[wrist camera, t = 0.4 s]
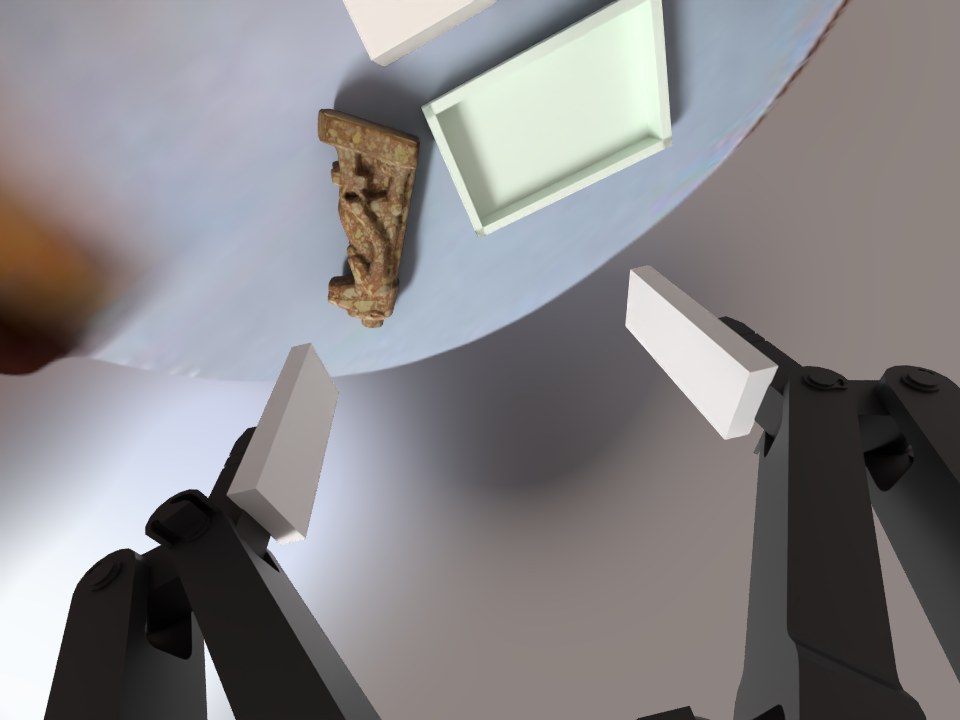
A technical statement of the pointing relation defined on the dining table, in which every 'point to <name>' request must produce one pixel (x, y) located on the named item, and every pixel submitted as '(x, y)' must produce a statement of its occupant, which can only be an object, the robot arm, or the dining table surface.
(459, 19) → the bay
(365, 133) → the sculpture
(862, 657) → the robot arm
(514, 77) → the tray
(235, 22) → the dining table surface
